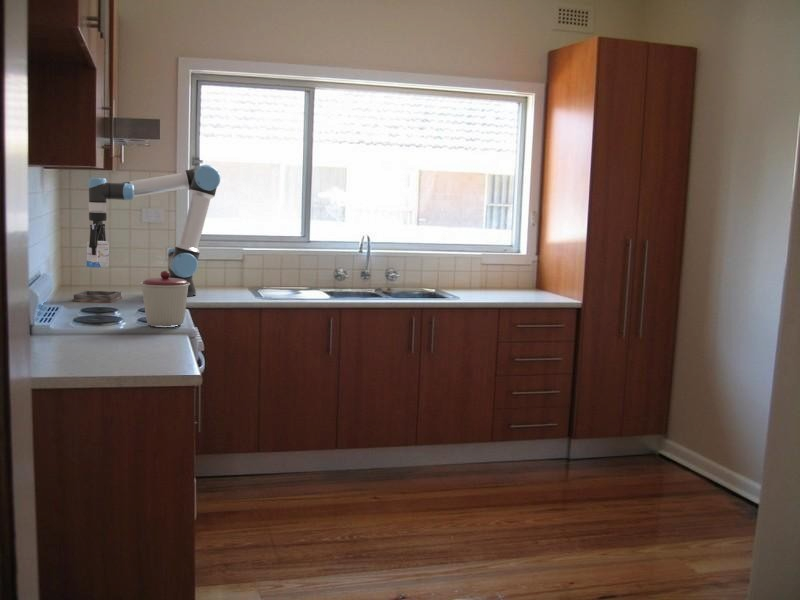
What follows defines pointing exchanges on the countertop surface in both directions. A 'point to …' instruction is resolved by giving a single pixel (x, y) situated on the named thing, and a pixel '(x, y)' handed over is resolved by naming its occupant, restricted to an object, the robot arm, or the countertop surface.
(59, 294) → the countertop surface
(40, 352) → the countertop surface
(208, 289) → the countertop surface
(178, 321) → the canister
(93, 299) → the brown shallow square tray
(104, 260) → the ink box
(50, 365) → the countertop surface
